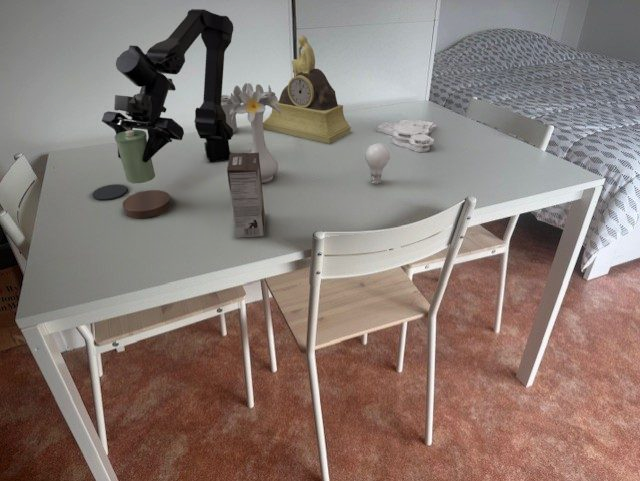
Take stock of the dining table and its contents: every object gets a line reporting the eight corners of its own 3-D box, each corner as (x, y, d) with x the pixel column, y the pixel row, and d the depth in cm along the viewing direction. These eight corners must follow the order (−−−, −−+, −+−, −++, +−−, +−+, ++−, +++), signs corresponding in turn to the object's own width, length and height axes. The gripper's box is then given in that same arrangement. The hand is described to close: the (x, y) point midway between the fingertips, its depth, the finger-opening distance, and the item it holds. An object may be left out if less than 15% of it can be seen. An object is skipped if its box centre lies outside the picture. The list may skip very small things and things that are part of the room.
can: (232, 136, 152) (228, 100, 146) (212, 135, 153) (206, 99, 147) (240, 129, 158) (236, 94, 152) (220, 127, 160) (215, 93, 153)
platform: (169, 194, 116) (168, 187, 115) (173, 213, 108) (171, 206, 106) (124, 201, 113) (122, 194, 112) (124, 222, 104) (122, 214, 103)
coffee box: (238, 217, 105) (229, 152, 97) (265, 216, 106) (259, 151, 97) (235, 238, 98) (225, 169, 89) (264, 236, 98) (258, 168, 89)
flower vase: (269, 161, 133) (262, 73, 120) (294, 185, 119) (290, 89, 106) (227, 170, 128) (214, 79, 115) (248, 196, 115) (236, 96, 101)
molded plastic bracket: (454, 130, 154) (456, 117, 151) (427, 154, 136) (428, 140, 134) (392, 120, 164) (393, 107, 162) (360, 141, 146) (360, 127, 144)
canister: (155, 169, 110) (144, 124, 104) (156, 181, 104) (145, 134, 98) (126, 174, 108) (113, 128, 102) (126, 185, 103) (113, 138, 96)
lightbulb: (372, 190, 116) (374, 150, 110) (359, 181, 121) (360, 142, 115) (392, 185, 119) (395, 145, 113) (379, 176, 123) (381, 138, 117)
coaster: (127, 183, 122) (127, 182, 122) (127, 197, 115) (127, 195, 115) (93, 188, 120) (93, 187, 119) (91, 202, 113) (91, 201, 113)
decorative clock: (262, 128, 158) (255, 35, 142) (285, 118, 167) (280, 30, 151) (329, 144, 145) (329, 43, 128) (350, 132, 154) (352, 37, 137)
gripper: (95, 75, 100) (72, 140, 98) (165, 81, 95) (143, 150, 92) (128, 101, 111) (108, 160, 108) (193, 108, 105) (174, 170, 102)
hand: (132, 159), depth 102 cm, fingers closed on canister, 6 cm apart
